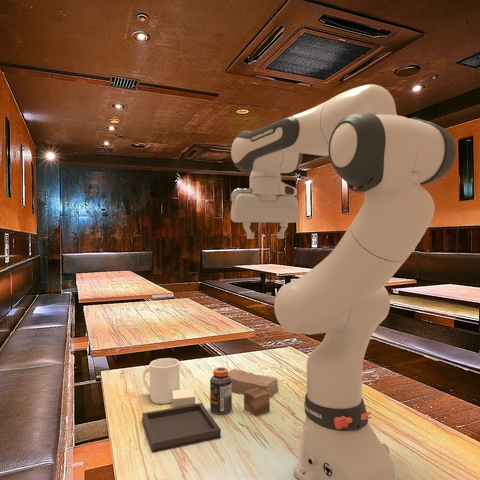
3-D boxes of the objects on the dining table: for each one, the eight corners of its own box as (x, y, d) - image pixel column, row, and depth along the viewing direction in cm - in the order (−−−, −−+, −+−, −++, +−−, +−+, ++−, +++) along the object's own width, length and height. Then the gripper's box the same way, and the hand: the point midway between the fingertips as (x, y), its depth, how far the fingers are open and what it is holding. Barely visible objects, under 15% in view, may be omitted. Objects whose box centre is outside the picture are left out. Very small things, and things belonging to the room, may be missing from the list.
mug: (152, 389, 122) (151, 355, 122) (185, 395, 117) (184, 359, 117) (134, 400, 114) (134, 364, 114) (169, 406, 109) (168, 368, 109)
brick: (279, 390, 120) (279, 375, 120) (267, 400, 113) (267, 384, 113) (233, 382, 128) (233, 367, 128) (219, 390, 121) (219, 375, 121)
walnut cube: (269, 411, 106) (269, 392, 106) (255, 416, 103) (255, 397, 103) (257, 404, 110) (257, 387, 110) (244, 409, 107) (243, 391, 107)
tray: (220, 437, 92) (220, 429, 92) (152, 452, 86) (152, 443, 86) (201, 410, 107) (201, 402, 107) (142, 420, 101) (142, 413, 101)
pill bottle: (207, 407, 108) (206, 367, 108) (226, 403, 111) (226, 364, 111) (215, 416, 103) (214, 374, 103) (235, 412, 105) (234, 370, 105)
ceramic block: (195, 411, 106) (195, 396, 106) (173, 413, 105) (173, 399, 105) (193, 402, 112) (193, 388, 112) (172, 404, 111) (172, 390, 111)
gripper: (235, 186, 101) (236, 239, 101) (301, 189, 109) (302, 238, 110) (226, 189, 107) (227, 239, 107) (290, 192, 115) (290, 238, 115)
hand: (265, 238), depth 108 cm, fingers open, 8 cm apart
